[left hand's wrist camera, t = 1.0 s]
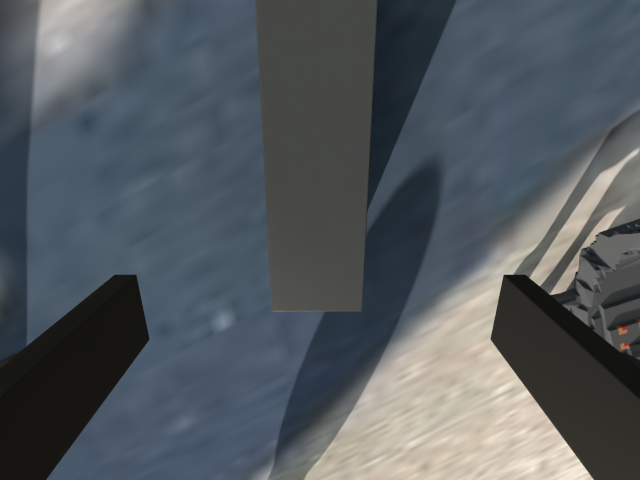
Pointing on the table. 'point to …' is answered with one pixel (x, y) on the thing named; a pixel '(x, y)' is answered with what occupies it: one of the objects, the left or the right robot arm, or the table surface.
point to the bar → (316, 147)
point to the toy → (610, 287)
